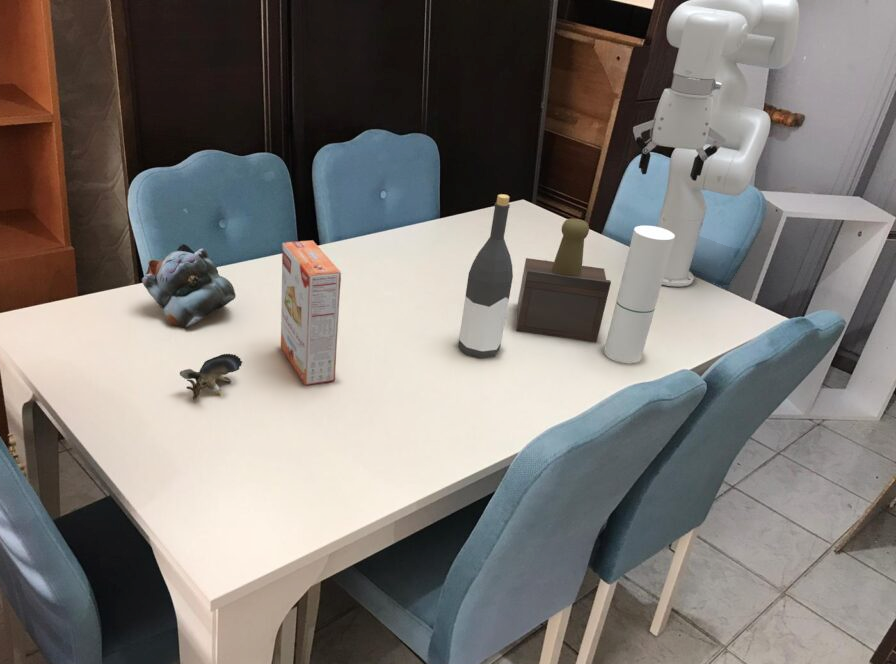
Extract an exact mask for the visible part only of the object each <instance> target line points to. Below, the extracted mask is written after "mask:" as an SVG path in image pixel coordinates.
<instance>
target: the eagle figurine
mask: <svg viewBox="0 0 896 664" xmlns="http://www.w3.org/2000/svg"><path fill="white" fill-rule="evenodd" d="M242 364H243V360H241V358H240V357H239V356H238V355H236V354H233V353H223V354H219V355H217V356H214V357H212V358H209V359H207V360H205V361H204V362H203V364H202V366H201V367H200V369H199V371H195V370H193V369H192V368H186V369H183V370H180V371H179V376H180V377H181V378H183V379H185V380H186V381H187V382H189V383H190V384H191V385H192V386H186V389H188V390H190V391H192V400H193V401H194V400H195V399H197V398H198V397H199V396H200V395H201V391H203V390H205V389H210V390H212V391H213V392H215V393H217V394H218V395H219V396H222V390H221V388H220V387H219V385H218V384H217V383H216V381H222V382H223V381H224V382H230V383H231V382H232V379H230V378H229V377H227V376H226V375H228V374H229V373H234V372H235V373H236V372H238V371H239V370H240V367H242ZM193 379H194V380H195V381H194V380H193Z"/></svg>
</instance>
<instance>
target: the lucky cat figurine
mask: <svg viewBox="0 0 896 664" xmlns="http://www.w3.org/2000/svg"><path fill="white" fill-rule="evenodd" d="M147 264H148V267H147V271H146V273H145V275H144V276H143V277H142V278H141V282H142V285H143V286H144V288H145V289H146V291H147V292H148V294H149V295H150V296H151V298H153V300H154V301H155V303H156V304H157V305H158V306H159V307H160V309H161V310H162V312H163V313H164V315H165V318H166V320H167V321H168V322H169V324H170V325H172V326H175V327H179V328H184V329H185V328H187V327H189V326H191V325H194V324H196V323H198V322H199V321H201V320H202V319H204V318H205V317H207V316H209V315H210V314H212V313H214V312H217V311H218V310H221V309H222V308H224V307H225V306H227V305H228V304H229V303H231V302H232V301H234V300H235V299H236V296H237V295H236V291H235V289H234V286H233V284H232V283H231V281H230V280H228V279H227V278H226V277H225V276H221V275H220V273H219V271H218V267H217V266H216V265H215V263H214V261H212V259H210V257H209V254H208V251H207V250H206V249H205V248H199V249H198V250H197V251H194V250H192V249H191V248H190V246H188V245H186V244H184V243H183V244H182V243H181V244H180V245H179V246H178V248H177V249H176V250H175V251H172V252H170V253H169V254H168V255H166V256H164V257H163V258H162V260H159V259H158V260H156V259H150V260H149V261H148V263H147Z"/></svg>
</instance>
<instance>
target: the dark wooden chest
mask: <svg viewBox="0 0 896 664" xmlns="http://www.w3.org/2000/svg"><path fill="white" fill-rule="evenodd" d="M553 264H554V261H552V260H544V259H536V258H528V257H526V258H525V262H524V266H523V272H522V278H521V284H520V288H519V295H518V300H517V304H516V329H515V331H517V332H522V333H529V334H530V333H531V334H537V335H543V336H551V337H558V338H563V339H570V340H577V341H585V342H591V343H597V342H598V340H599V339H598V338H599V335H600V331H601V326H602V323H603V321H602V320H603V317H604V313H605V309H606V306H607V301H608V297H609V292H610V288H611V285H612V280H610V279H607V276H606V272H605V271H606V270H605V268H602V267H594V266H587V265H582V274H581V276H574V275H567V274H560V273H552V272H551V269H552V267H553Z"/></svg>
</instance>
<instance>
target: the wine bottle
mask: <svg viewBox="0 0 896 664" xmlns="http://www.w3.org/2000/svg"><path fill="white" fill-rule="evenodd" d="M509 202H510V196H509V195H508V194H502V193H500V194H497V198H496V202H494V205H493V206H494V209H493V217H492V223H491V229H490V235H489V238H488V239H487V240H486V242H485V243H484V245H482V247H481V249H480V250H479V251H478V253H477V254H476V256H475V258H474V259H473V261H472V264H471V267H470V269H469V271H468V276H467V283H466V290H465V296H464V304H463V310H462V316H461V322H460V323H461V324H460V329H459V335H458V348H459V349H460V350H461V351H462V353H464V354H465V355H467V356H471V357H474V358H477V359H478V358H479V359H486V358H487V359H488V358H494V357H496V356H497V354H498V353H499V351H500V349H501V345H502V340H503V335H504V329H505V324H506V319H507V313H508V305H509V301H510V296H511V289H512V284H513V278H514V272H513V271H514V270H513V263H512V258H511V254H510V252H509V249H508V246H507V243H506V240H505V233H506V227H507V223H508V222H507V221H508V216H509V215H508V214H509V210H510V207H511V205H510V203H509Z"/></svg>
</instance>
